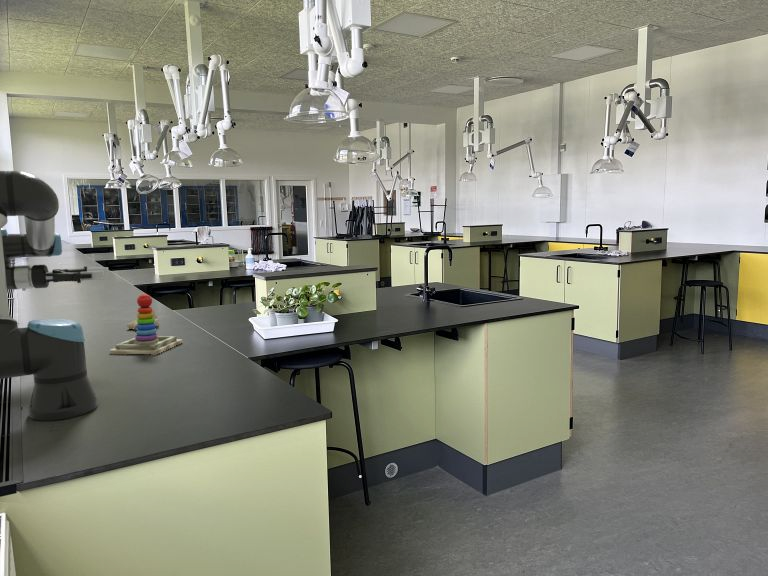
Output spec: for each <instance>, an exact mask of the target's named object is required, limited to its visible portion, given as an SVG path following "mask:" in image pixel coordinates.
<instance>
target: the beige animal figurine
mask: <svg viewBox="0 0 768 576" xmlns="http://www.w3.org/2000/svg"><path fill="white" fill-rule="evenodd" d="M155 311H156V310H154V309H153V310H152V312H151V313H153V317H152V318H154V320H155V321H154V323H155V325H156V326H157V327H159V326H160V324H159V318H158V316H157V314H156V312H155ZM137 324H138V323H137V319H136V320H133V321H131V322H129V323H127V324H126V327H127V329H128V328H129V329H133V328H134V329H133V330H135V329H136V330H138V329H137V327H136V326H137ZM158 325H159V326H158ZM129 329H128V330H129ZM136 330H135V331H136Z"/></svg>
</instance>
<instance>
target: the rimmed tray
mask: <svg viewBox="0 0 768 576" xmlns="http://www.w3.org/2000/svg"><path fill="white" fill-rule="evenodd" d="M157 339H158V340H159V342H158V343H155V344H153V345H142V344H135V341H136V339H135V337H132V338H130V339H128V340H125V341H122V342H120V343H117V344H115V347H114V348H111V349H109V350H108V351H109V355H127V354H151V355H150V356H157V354H158V355H160V354H162V353H164V352H167V351H169V350H171V349H173V348H175V347H177V346H176V345H178V346H180V345H182V344H183V339H178V338H177V336H176V335H175V336H172V335H170V336H169V335H168V336H167V335H157ZM181 343H182V344H181ZM179 344H180V345H179ZM174 346H175V347H174ZM172 347H173V348H172ZM170 348H171V349H170ZM168 349H169V350H168ZM166 350H167V351H166ZM163 351H164V352H163ZM161 352H162V353H161ZM159 353H160V354H159Z"/></svg>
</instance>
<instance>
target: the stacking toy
mask: <svg viewBox="0 0 768 576" xmlns="http://www.w3.org/2000/svg"><path fill="white" fill-rule="evenodd" d="M136 303H137V305H138V306H139V307H138V308H137V315H136V317H137V319H136V320H137V323H138V324H137V326H136V327H137V329H138V330H137V331H136V330H135V334H136V335H135V336H134V338H135V339H136V341H135V344H142V345H153V344H155V343H158V342H159V340H158V339H157V336H158V334H157V331H158V330H157V327H155V326H156V325H155V323H154V321H155V320H154V318H152V317H153V313H151V312H152V311H153V310H154V309H153V307H151V306H152V303H153V299H152V296H151V295H149V294H147V293H143V294H140V295H139V296H138V297H137V300H136Z"/></svg>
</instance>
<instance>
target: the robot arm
mask: <svg viewBox="0 0 768 576" xmlns="http://www.w3.org/2000/svg"><path fill="white" fill-rule="evenodd" d="M59 208H60V203H59V197H58V195H57V193H56V192H55V191H54V189H53V188H52V187H51V186H50V184H48V183H47V182H45V181H44V180H43V179H42V178H39V177H38V176H35V175H34V174H31V173H27V172H24V171H20V170H0V380H3V379H10V378H17V377H25V376H30V375H31V376H32V375H33V385H34V386H33V388H32V389H33V390H32V393H31V398H30V403H29V405H28V415H29V418H30V419H32V420H33V421H34V420H35V421H45V422H46V421H58V420H60V421H61V420H66V419H71V418H74V417H79V416H81V415H85V414H87V413H89V412H92V411H93V410H95V409H97V408H98V404H99V402H98V395H97V394H96V393H95V391H94V388H93V386H92V384H91V382H90V379H89V377H88V367H87V360H86V350H85V348H86V347H85V342H86V339H85V336H84V330H83V326H82V325H81V323H80V322H77V321H75V320H73V319H72V320H71V319H61V318H42V319H32V320H29V321H28V322H27V324H26V325H27V326H26V327H19V326H18V321H17V320H16V319H15V318H13V317H12V316H10V308H9V300H8V299H9V297H8V291H9V290H10V291H11V290H12V291H13V290H22V291H24V292H25V291H27V289H33V288H35V289H46V288H48V287H49V285H50V282H51V283H52V282H53V283H59V282H60V283H63V282H74V283H77V284H81V283H82V281H95V280H96V281H97V280H105V276H110V273H109V267H107V266H106V267H105V266H104V267H88V266H87V265H86V266H83V268H70V269H68V268H62V269H59V268H56V269H55V268H54V269H52V270H51V271H49V268H48V267H47V265H46V264H33V265H30V264H26V265H25V264H24V265H21V264H20V265H11V259H19V258H41V257H42V258H43V257H44V258H45V257H53V256H54V257H56V256H57V257H58V256H61V255H62V253H63V245H62V237H61V234H59V233H57V232H55V231H56V229H55V228H56V227H55V226H56V224H55V217H56V215H57V214H58V212H59ZM21 216H22V217H23V219H24V227H25V228H24V229H25V233H8V231H7V229H6V228H4V227H5V226H6V225H7V224H8V222H9V221H8V217H21Z"/></svg>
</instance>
